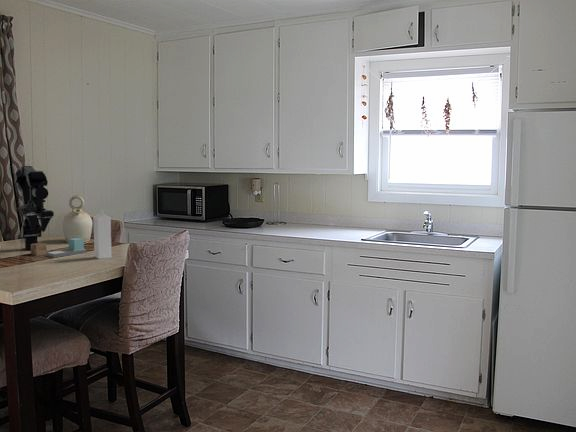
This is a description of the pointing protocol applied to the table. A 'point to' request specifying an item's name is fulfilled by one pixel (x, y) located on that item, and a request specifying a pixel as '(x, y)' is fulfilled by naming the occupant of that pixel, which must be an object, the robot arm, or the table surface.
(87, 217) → the jug
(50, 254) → the baseplate
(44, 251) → the walnut block
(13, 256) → the table surface
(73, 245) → the teal block
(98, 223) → the milk
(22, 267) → the table surface
